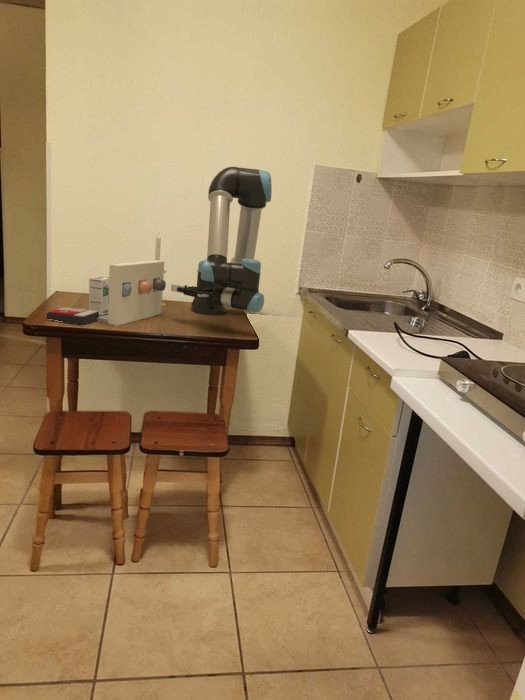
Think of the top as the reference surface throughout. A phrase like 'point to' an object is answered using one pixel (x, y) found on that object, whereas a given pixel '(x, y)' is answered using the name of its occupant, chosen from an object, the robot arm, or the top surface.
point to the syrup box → (99, 294)
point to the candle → (158, 253)
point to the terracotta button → (144, 287)
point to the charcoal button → (159, 284)
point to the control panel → (133, 292)
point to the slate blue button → (126, 289)
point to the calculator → (73, 315)
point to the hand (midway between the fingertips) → (172, 287)
